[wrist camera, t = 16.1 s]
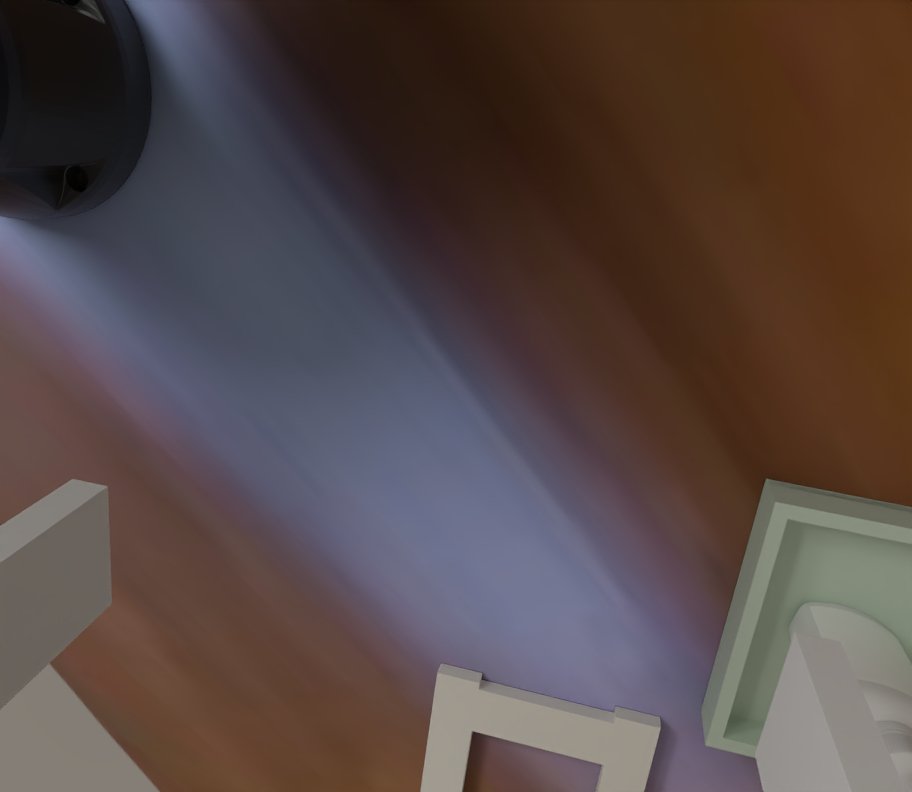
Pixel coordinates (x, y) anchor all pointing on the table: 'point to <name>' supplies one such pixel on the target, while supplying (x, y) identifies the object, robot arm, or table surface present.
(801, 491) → the tray
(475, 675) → the socket plate
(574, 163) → the table surface
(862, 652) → the eye dropper bottle
